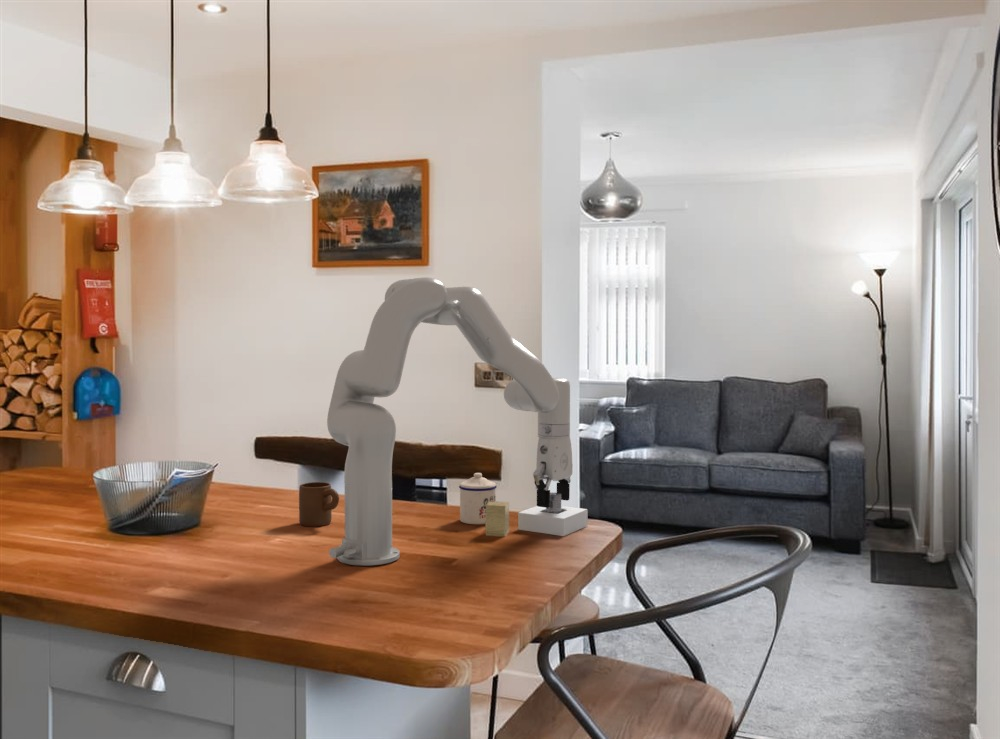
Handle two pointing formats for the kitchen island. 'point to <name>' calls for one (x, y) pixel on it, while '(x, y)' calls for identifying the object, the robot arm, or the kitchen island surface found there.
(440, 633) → the kitchen island surface
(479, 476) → the teacup with lid
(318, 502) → the mug
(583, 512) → the block
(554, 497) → the round bit
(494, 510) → the square bit
